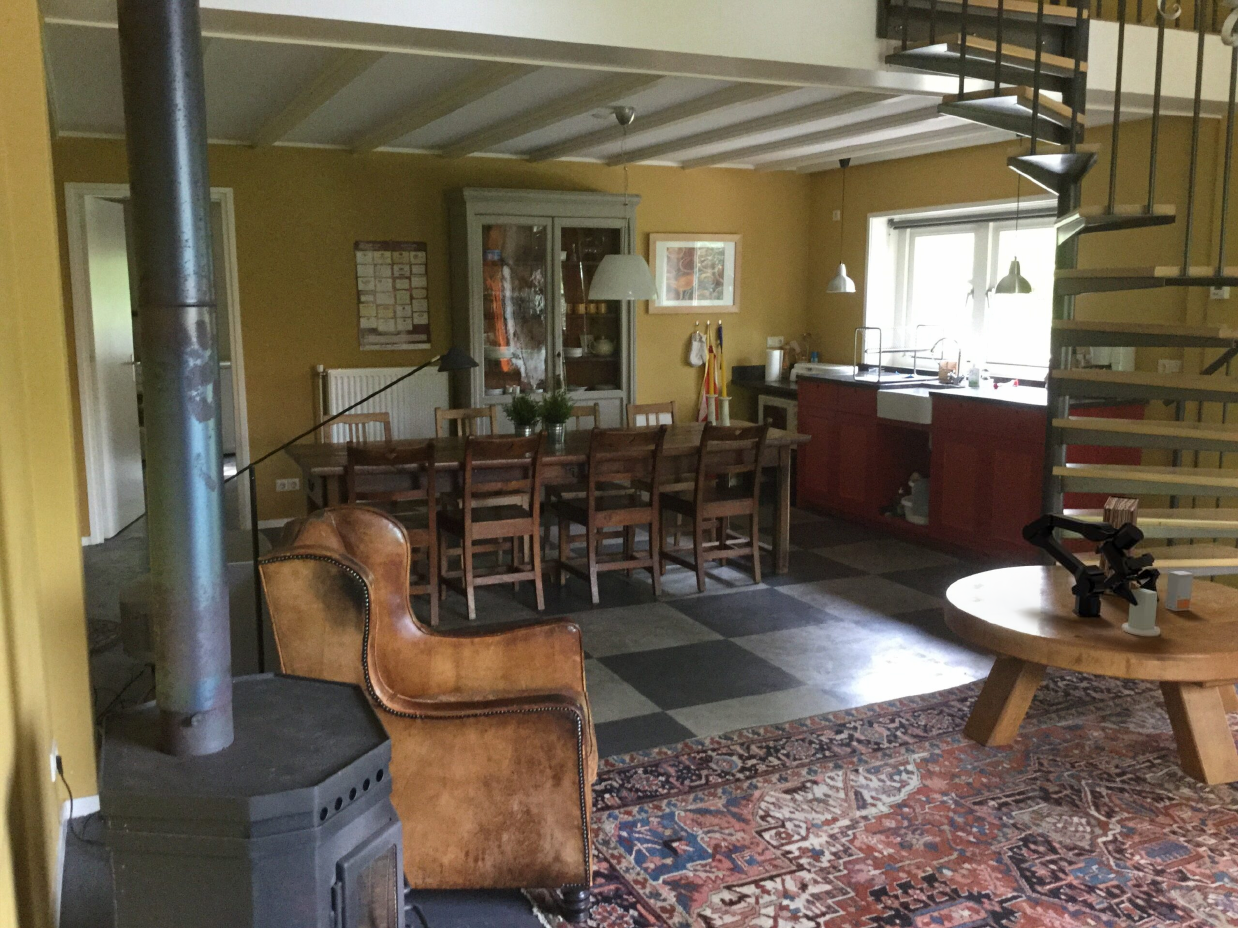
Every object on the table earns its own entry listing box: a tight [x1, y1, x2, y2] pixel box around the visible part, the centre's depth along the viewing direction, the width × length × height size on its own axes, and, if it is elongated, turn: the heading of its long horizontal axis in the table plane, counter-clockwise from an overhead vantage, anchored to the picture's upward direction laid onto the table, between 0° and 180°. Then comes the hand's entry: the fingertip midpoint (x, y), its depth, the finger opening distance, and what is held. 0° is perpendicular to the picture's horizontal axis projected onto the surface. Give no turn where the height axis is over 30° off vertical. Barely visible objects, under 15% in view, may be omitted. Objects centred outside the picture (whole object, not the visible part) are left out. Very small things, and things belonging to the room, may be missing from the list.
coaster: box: [1121, 622, 1161, 637], centre depth 307 cm, size 10×10×1 cm
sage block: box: [1127, 588, 1159, 631], centre depth 306 cm, size 5×5×11 cm
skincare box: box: [1164, 570, 1194, 612], centre depth 330 cm, size 6×4×12 cm
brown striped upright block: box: [1098, 495, 1140, 596], centre depth 354 cm, size 25×9×30 cm, turn 151°
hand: (1147, 603), depth 305 cm, fingers open, 9 cm apart
